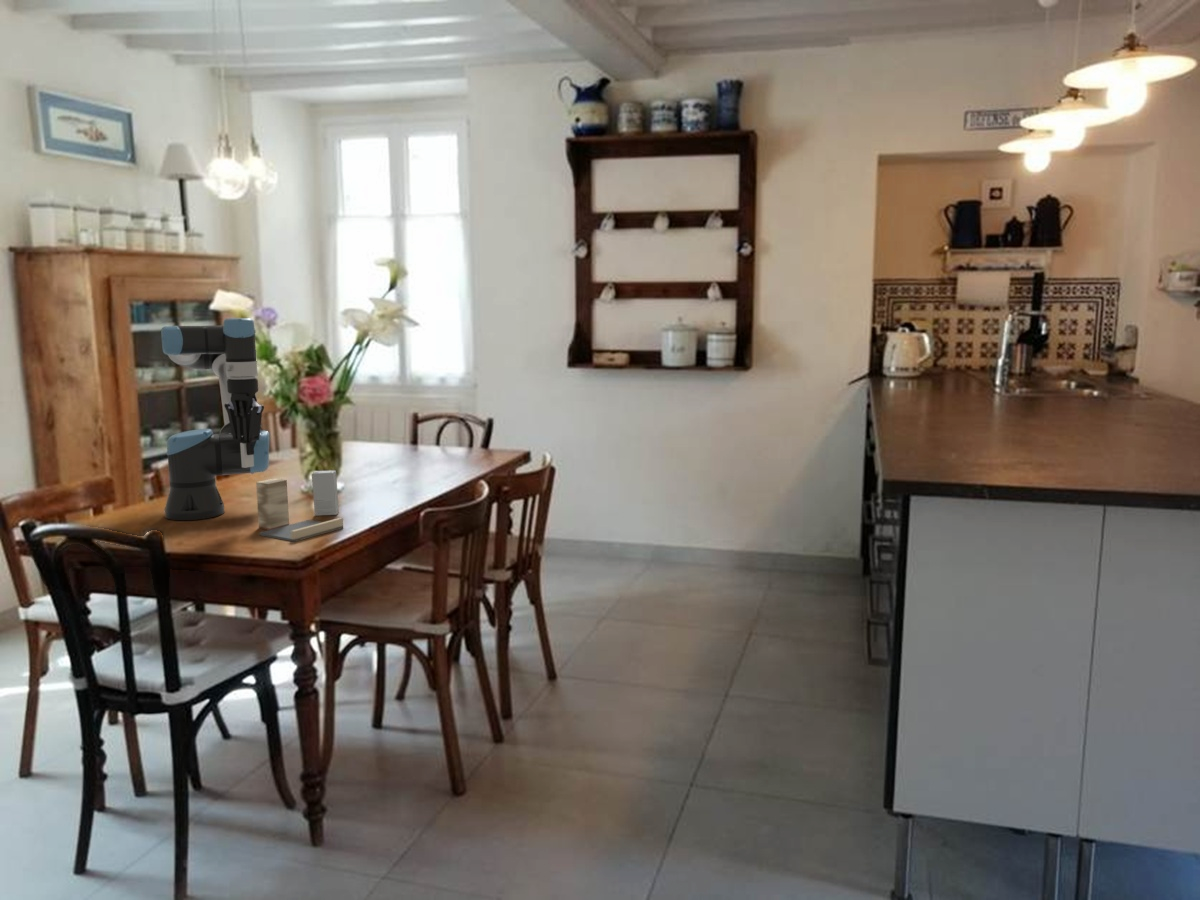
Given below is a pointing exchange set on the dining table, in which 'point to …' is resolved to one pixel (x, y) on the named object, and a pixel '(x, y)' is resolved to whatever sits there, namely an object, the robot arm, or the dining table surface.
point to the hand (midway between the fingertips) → (247, 466)
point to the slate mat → (304, 529)
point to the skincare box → (325, 492)
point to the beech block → (272, 503)
